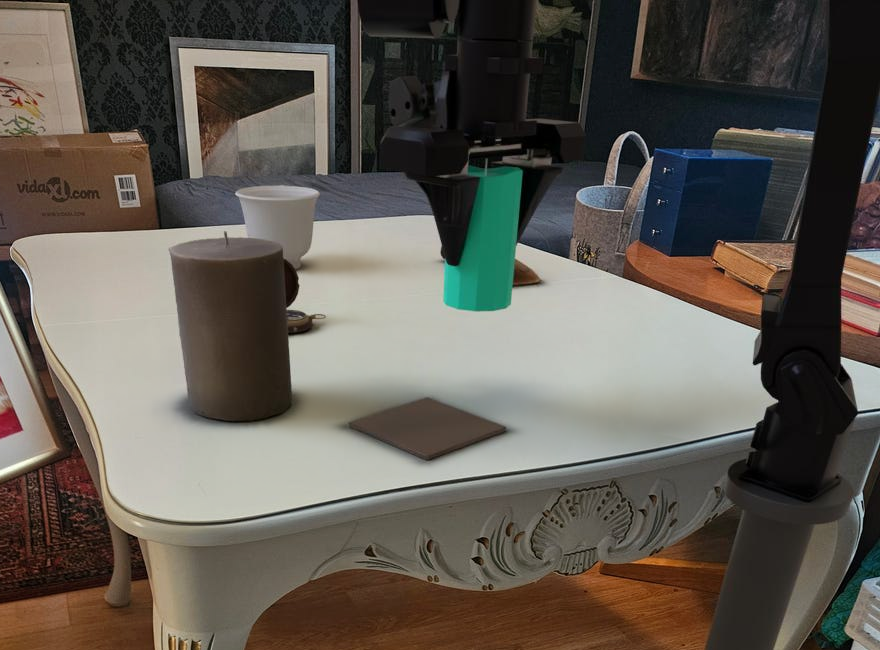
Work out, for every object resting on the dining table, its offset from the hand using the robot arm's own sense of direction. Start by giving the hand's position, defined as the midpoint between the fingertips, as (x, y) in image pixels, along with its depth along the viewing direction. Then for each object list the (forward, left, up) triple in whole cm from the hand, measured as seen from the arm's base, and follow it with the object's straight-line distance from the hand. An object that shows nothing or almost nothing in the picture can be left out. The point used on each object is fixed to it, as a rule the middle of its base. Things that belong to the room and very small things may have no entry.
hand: (479, 260), depth 75 cm
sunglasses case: (+37, -44, -13) cm, 59 cm away
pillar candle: (+15, +16, -13) cm, 25 cm away
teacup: (+60, -23, -13) cm, 65 cm away
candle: (0, 0, -4) cm, 4 cm away
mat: (-1, +7, -13) cm, 15 cm away
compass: (+33, -4, -13) cm, 36 cm away
